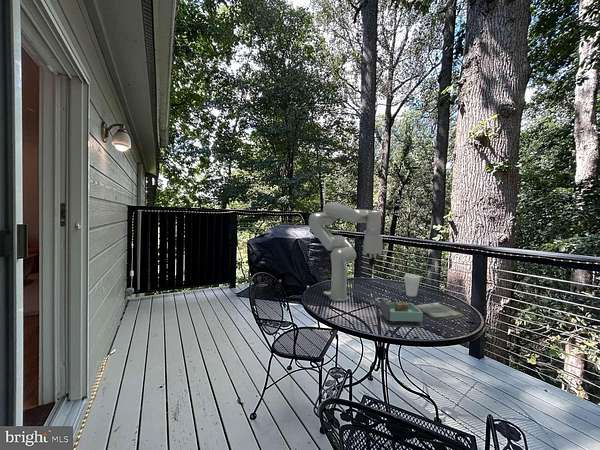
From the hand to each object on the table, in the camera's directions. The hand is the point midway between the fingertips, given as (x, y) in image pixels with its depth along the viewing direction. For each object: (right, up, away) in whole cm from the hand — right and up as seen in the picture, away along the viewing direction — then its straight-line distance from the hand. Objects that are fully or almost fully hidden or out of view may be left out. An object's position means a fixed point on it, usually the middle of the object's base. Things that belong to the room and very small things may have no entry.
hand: (371, 265), depth 167 cm
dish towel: (+37, -27, 0) cm, 46 cm away
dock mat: (+12, -27, -14) cm, 32 cm away
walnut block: (+12, -23, -14) cm, 29 cm away
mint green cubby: (+12, -27, -14) cm, 32 cm away
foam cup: (+34, -24, +31) cm, 51 cm away
